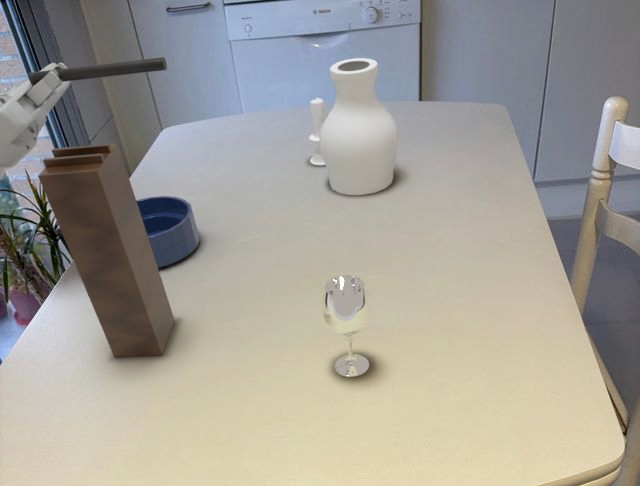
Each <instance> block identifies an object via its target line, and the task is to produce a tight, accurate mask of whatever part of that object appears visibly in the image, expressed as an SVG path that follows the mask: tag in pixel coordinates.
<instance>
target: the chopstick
mask: <svg viewBox="0 0 640 486" xmlns="http://www.w3.org/2000/svg"><path fill="white" fill-rule="evenodd" d="M167 70H168V64H167V60H166V58H165V57H164V56H162V57H154V58H145V59H143V58H142V59H135V60H127V61H118V62H111V63H110V62H109V63H102V64H93V65H92V64H91V65H83V66H76V67H74V66H73V67H67V68H65V69H57V70H56V71H57V72H58V73H59V74H60V75H61V76H62V78H63V80H62V82H66V81H70V82H73V81H82V80H83V81H84V80H90V79H91V80H92V79H100V78H101V79H102V78H109V77H118V76H126V75H128V76H129V75H135V74H144V73H145V74H146V73H153V72H161V71H167ZM50 71H51V70H48V71H41V70H39V71H34V72H32V71H31V72H28V75H27V76H28V80H29V81H30V83H31V84H32V85H36V84H37V83H38V82H39V81H41V80H42V79H43V78H44V77H45V76H46V75H47V74H48V73H49V72H50Z"/></svg>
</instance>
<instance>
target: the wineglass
mask: <svg viewBox="0 0 640 486" xmlns="http://www.w3.org/2000/svg"><path fill="white" fill-rule="evenodd" d="M369 296H370V295H369V293H368V290H367V287H366V284H365V282H364V280H363V278H361V277H359V276H356V275H351V274H343V275H338V276H334V277H333V278H330V279H328V281H327V282H325V285H324V288H323V294H322V317H323V319H324V323H325V325H326V326H327V328H328V329H329V330H330V331H331V332H333V333H335V334H336V335H340V336H344V339H345V342H346V344H347V347H348V348H347V349H348V354H347V355H343V356H342V357H340V358H338V359H337V360H336V362H335V364H334V370H335V372H336V373H337V374H339V375H340V376H343V377H346V378H347V377H348V378H354V377H359V376H361V375H363V374H365V373H366V372H367V371H368V370H369V368H370V361H369V360H368V358H366V357H365V356H363V355H360V354H354V353H353V342H354V335H357V334H359V333H360V332H362V331H363V330H365V328H366V327H367V326H368V324H369V322H370V319H371V314H372V312H371V311H372V307H371V299H370V297H369Z"/></svg>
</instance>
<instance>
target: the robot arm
mask: <svg viewBox="0 0 640 486" xmlns="http://www.w3.org/2000/svg"><path fill="white" fill-rule="evenodd" d="M65 68H68V67H67V66H66V65H65V64H64V63H63V62H59V63H58V64H57V63H56V62H51V63H49V64H48V65H46V66H45V67H43V68H42V69H41V70H40V71H48V70H51V71H50V72H49V73H48V74H47V75H46V76H45V77H44V78H43V79H42V80H41V81H39V82H38V83H37V84H36V85H32V84H31V83H30V81H29V79H27V80H26V81H24V83H22V84H21V85H19V86H17V87H16V86H12V87H11V88H9V89H7V90H5V91H3V92H1V93H0V181H1V180H2V178H3V177H4V175H5V173H6V171H7V170H8V169H11V168H14V167H15V166H17V165H18V164H19V163H20V162H21V161H22V160H23V159H24V158H25V157H26V156H27V155H28V154H29V153H30V152H31V151H33V150H34V148H35V147H36V146H37V143H38V137H39V134H40V132H41V131H42V128H43V127H44V126H45V123H46V122H47V119H48V118H47V116H48V114H49V113H50V112H51V111H52V109H53V108H54V107H55V105H56V104H57V103H58V101H59V100H60V99H61V97H62V96H63V95H64V94H65V92H66V91H67V90H68V88H69V86H70V84H71V81H66V82H62V80H63V78H62V76H61V75H60V74H59V73H58V72H57V71H56V70H57V69H65Z"/></svg>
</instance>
